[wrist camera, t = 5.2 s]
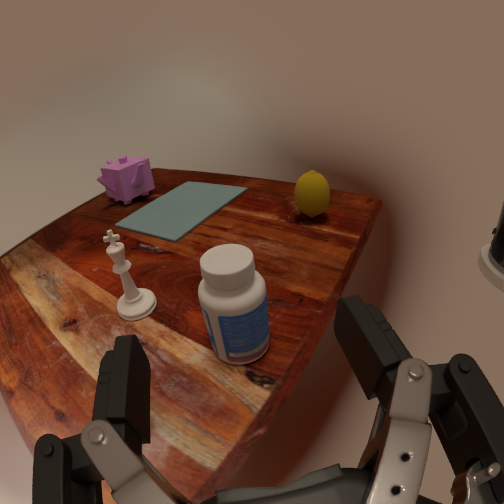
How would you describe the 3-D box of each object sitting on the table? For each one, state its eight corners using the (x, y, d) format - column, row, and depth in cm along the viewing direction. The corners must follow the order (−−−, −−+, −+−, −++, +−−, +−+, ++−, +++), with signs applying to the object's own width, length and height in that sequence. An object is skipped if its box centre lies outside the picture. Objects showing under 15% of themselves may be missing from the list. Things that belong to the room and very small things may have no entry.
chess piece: (121, 294, 34) (95, 223, 28) (158, 289, 34) (136, 215, 29) (114, 322, 30) (80, 247, 24) (154, 318, 30) (126, 239, 25)
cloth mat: (247, 189, 59) (247, 187, 59) (175, 242, 44) (175, 240, 43) (188, 182, 66) (187, 181, 66) (115, 226, 51) (114, 224, 50)
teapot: (90, 203, 63) (80, 166, 58) (133, 183, 71) (125, 148, 66) (124, 217, 53) (111, 170, 48) (174, 192, 62) (166, 149, 56)
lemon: (316, 229, 44) (317, 178, 39) (288, 218, 47) (286, 171, 43) (335, 216, 47) (337, 169, 42) (307, 207, 50) (307, 163, 46)
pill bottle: (279, 334, 27) (278, 247, 22) (250, 375, 24) (239, 290, 18) (232, 316, 30) (219, 233, 25) (200, 351, 26) (175, 268, 21)
